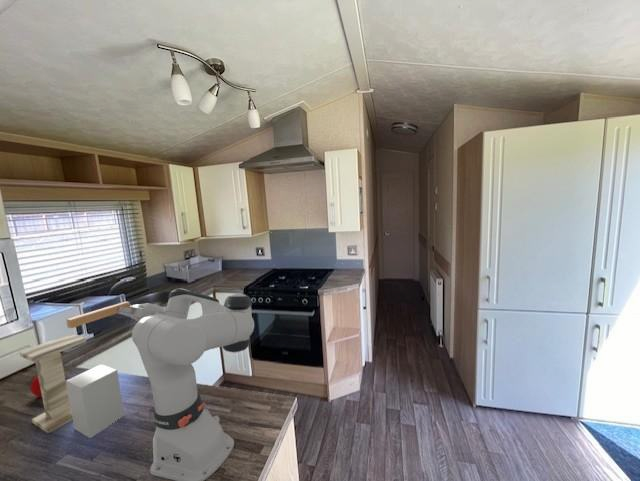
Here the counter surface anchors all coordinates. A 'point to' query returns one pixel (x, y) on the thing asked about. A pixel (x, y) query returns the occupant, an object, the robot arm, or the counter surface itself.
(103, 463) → the counter surface
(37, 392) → the fruit
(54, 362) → the tall stand
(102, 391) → the pedestal
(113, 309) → the bar
